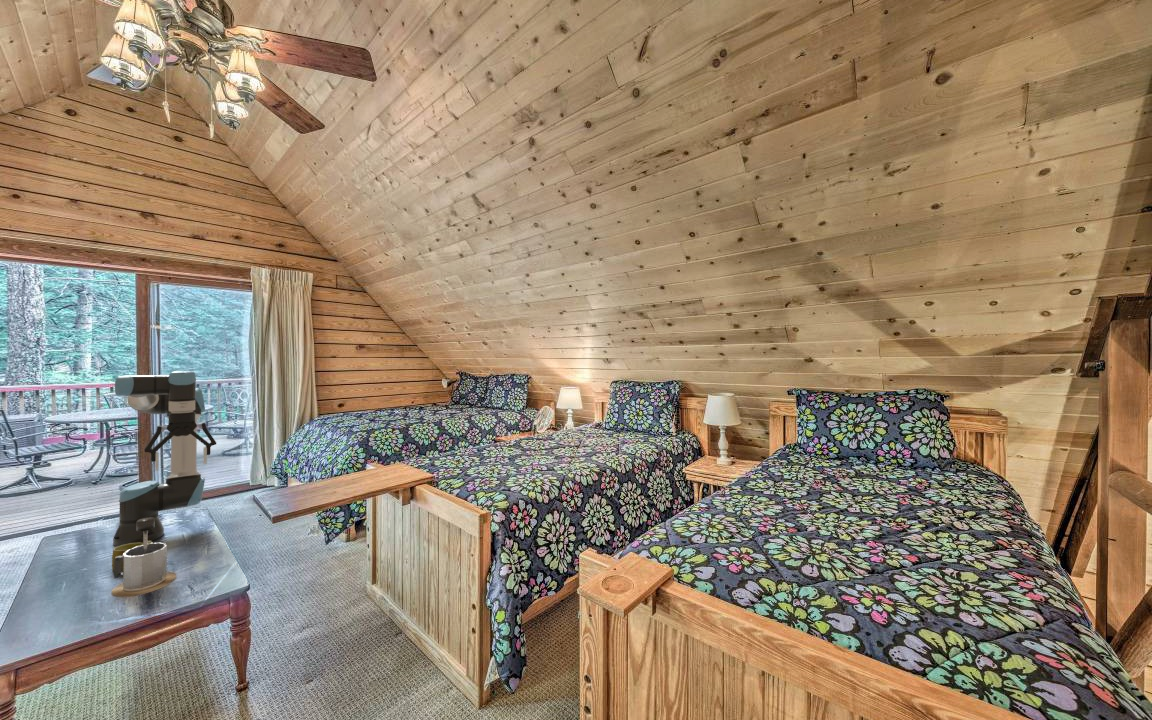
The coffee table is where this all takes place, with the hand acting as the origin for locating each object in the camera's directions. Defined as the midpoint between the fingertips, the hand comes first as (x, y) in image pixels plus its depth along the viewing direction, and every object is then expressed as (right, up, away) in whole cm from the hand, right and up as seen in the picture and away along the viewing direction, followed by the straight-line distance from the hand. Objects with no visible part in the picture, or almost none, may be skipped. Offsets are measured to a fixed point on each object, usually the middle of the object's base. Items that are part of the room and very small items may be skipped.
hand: (181, 466), depth 163 cm
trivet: (+2, -37, -16) cm, 41 cm away
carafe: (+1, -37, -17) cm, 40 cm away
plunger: (+2, -34, -16) cm, 38 cm away
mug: (-15, -37, -3) cm, 40 cm away
